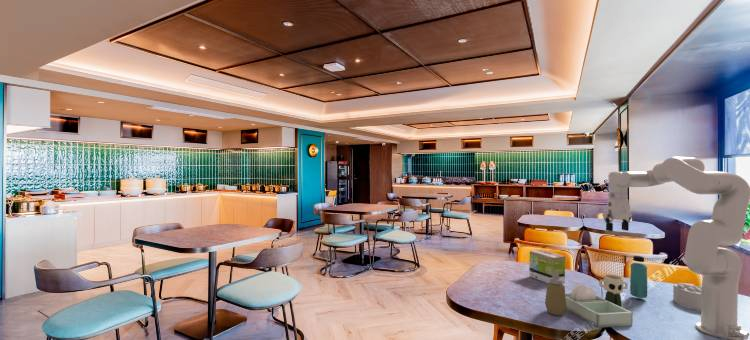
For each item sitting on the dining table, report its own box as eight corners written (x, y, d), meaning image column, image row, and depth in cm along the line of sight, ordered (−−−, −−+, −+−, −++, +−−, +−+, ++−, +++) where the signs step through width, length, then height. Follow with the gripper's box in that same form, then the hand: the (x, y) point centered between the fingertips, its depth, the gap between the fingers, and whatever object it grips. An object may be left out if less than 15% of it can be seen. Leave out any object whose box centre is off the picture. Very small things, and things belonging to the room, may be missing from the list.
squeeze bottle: (547, 307, 149) (547, 266, 149) (568, 312, 144) (568, 270, 144) (542, 313, 143) (543, 270, 142) (564, 319, 137) (565, 274, 137)
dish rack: (632, 325, 133) (632, 312, 133) (597, 327, 130) (598, 314, 130) (589, 303, 154) (589, 292, 154) (558, 304, 152) (559, 293, 152)
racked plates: (595, 307, 147) (595, 286, 147) (576, 308, 145) (577, 287, 145) (589, 304, 150) (590, 284, 150) (571, 305, 149) (571, 285, 149)
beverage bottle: (650, 302, 156) (651, 258, 156) (634, 300, 158) (634, 257, 158) (642, 296, 163) (643, 255, 163) (626, 295, 164) (627, 254, 164)
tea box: (528, 277, 191) (528, 250, 191) (541, 275, 195) (541, 249, 195) (552, 285, 177) (553, 257, 177) (565, 283, 181) (565, 255, 181)
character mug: (602, 307, 150) (602, 277, 150) (596, 301, 156) (596, 273, 156) (631, 310, 147) (631, 280, 147) (623, 304, 154) (624, 275, 153)
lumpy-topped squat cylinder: (697, 301, 159) (697, 282, 159) (715, 312, 146) (715, 292, 146) (669, 298, 162) (670, 280, 162) (685, 308, 149) (685, 289, 149)
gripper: (610, 197, 165) (609, 232, 165) (638, 196, 169) (638, 231, 169) (597, 195, 172) (596, 229, 172) (624, 195, 176) (624, 228, 176)
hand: (617, 230), depth 171 cm, fingers open, 9 cm apart
